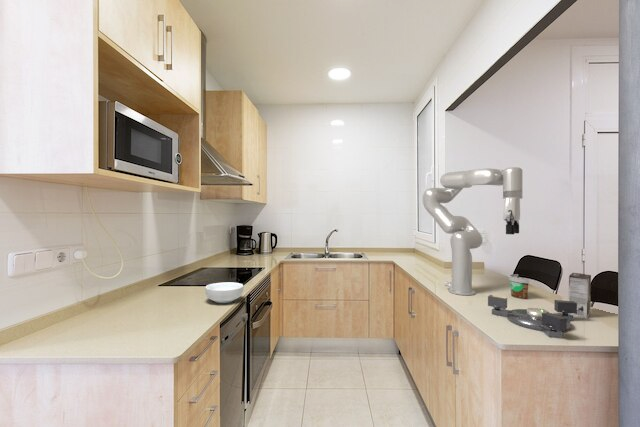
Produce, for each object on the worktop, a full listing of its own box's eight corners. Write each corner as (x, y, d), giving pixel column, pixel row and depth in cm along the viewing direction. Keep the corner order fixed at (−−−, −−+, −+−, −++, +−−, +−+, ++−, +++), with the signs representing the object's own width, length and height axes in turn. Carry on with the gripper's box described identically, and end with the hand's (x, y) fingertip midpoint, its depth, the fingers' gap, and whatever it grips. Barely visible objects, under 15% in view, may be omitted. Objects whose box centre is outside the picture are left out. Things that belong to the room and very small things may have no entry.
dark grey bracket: (487, 306, 137) (487, 295, 137) (490, 304, 140) (490, 293, 140) (504, 309, 132) (504, 298, 132) (507, 307, 135) (507, 296, 135)
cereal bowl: (249, 302, 149) (249, 287, 149) (211, 308, 140) (211, 292, 140) (235, 294, 163) (235, 280, 163) (200, 299, 154) (200, 284, 154)
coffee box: (571, 309, 143) (572, 272, 143) (590, 313, 138) (591, 274, 138) (567, 314, 137) (568, 275, 136) (587, 318, 132) (588, 277, 132)
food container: (504, 293, 171) (504, 273, 171) (517, 293, 170) (517, 274, 170) (514, 299, 158) (515, 278, 158) (528, 300, 158) (529, 279, 157)
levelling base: (480, 321, 126) (481, 303, 126) (504, 305, 148) (504, 290, 148) (564, 341, 108) (565, 320, 108) (577, 319, 130) (577, 301, 130)
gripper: (507, 196, 157) (507, 232, 157) (498, 195, 145) (498, 234, 145) (526, 195, 153) (526, 233, 153) (518, 194, 140) (518, 235, 140)
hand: (512, 233), depth 149 cm, fingers open, 9 cm apart
